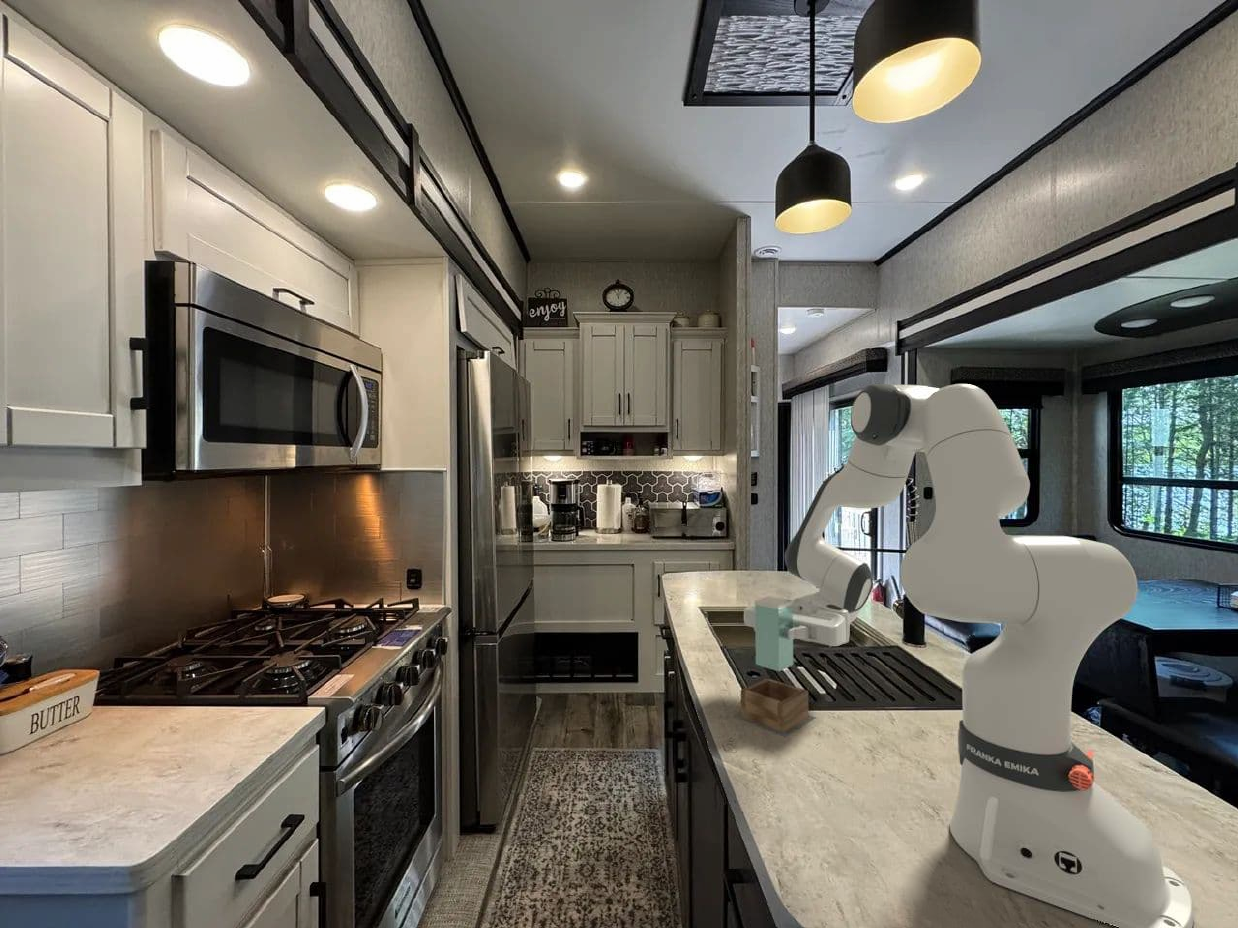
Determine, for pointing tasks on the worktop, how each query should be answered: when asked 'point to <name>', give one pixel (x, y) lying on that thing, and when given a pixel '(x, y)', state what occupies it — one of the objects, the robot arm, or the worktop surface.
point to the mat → (776, 730)
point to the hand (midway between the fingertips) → (771, 631)
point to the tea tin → (773, 632)
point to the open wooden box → (774, 704)
